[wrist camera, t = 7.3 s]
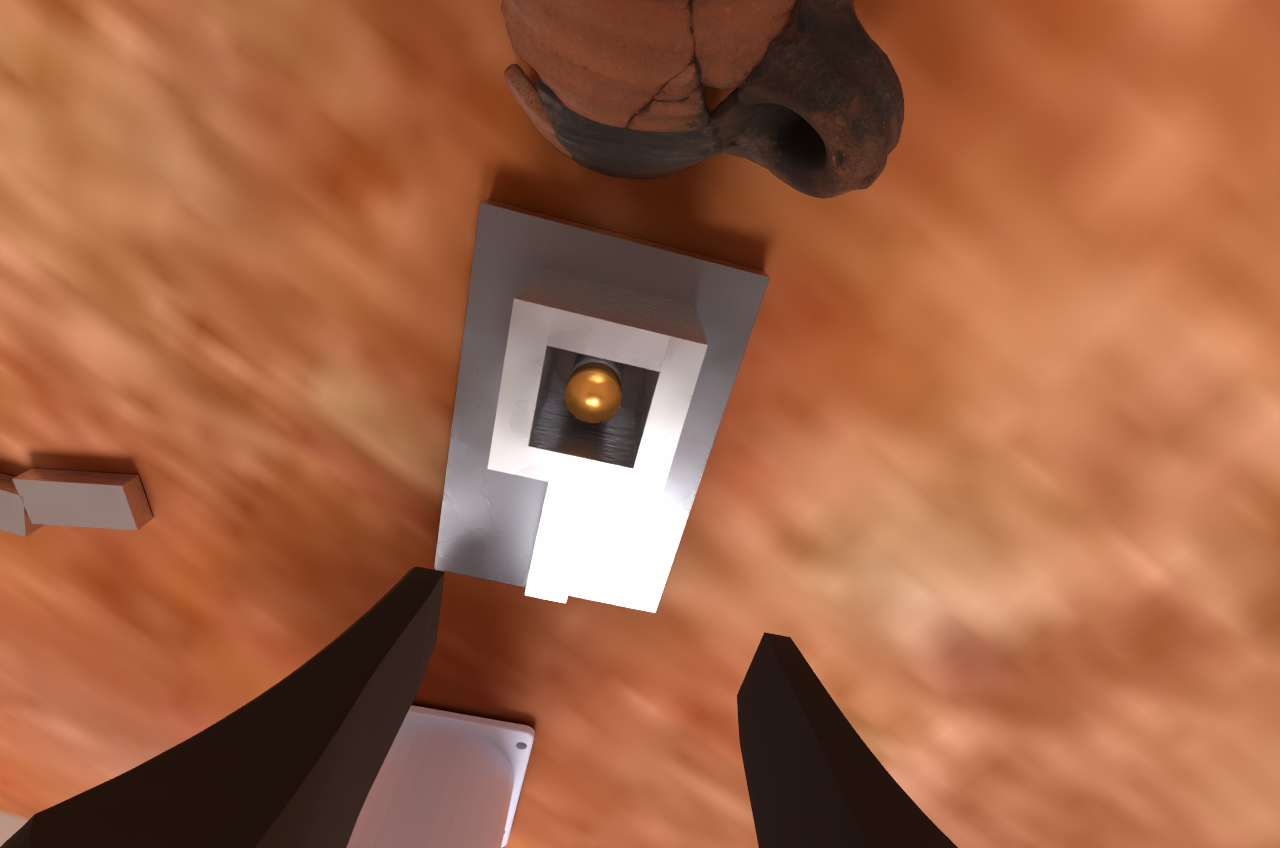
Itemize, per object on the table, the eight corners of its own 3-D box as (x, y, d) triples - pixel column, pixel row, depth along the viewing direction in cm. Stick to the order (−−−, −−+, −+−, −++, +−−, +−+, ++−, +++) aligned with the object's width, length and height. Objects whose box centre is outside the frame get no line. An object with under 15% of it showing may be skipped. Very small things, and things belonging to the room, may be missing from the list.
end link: (656, 442, 21) (658, 505, 17) (515, 410, 20) (487, 468, 17) (695, 306, 19) (707, 344, 15) (540, 267, 18) (513, 298, 15)
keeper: (654, 595, 25) (656, 672, 22) (441, 553, 24) (406, 625, 21) (763, 271, 19) (791, 301, 16) (488, 199, 18) (449, 213, 15)
